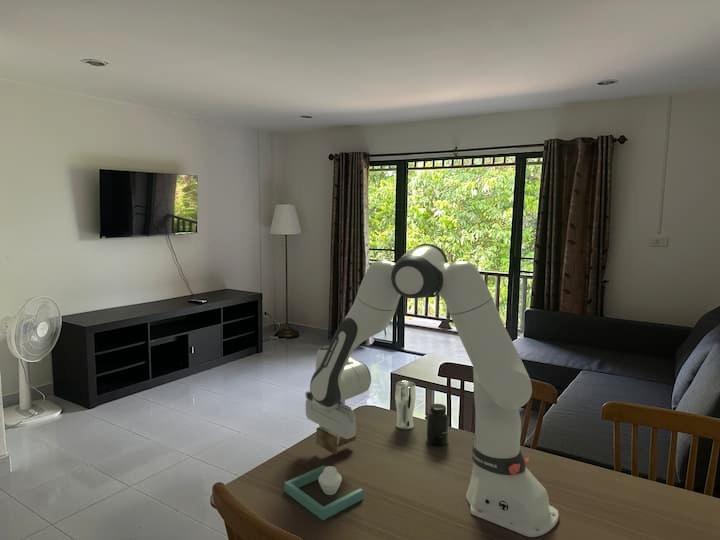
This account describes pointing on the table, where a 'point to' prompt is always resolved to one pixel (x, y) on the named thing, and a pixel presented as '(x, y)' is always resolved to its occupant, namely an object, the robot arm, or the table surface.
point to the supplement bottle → (437, 425)
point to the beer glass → (405, 404)
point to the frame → (312, 505)
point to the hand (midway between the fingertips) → (330, 441)
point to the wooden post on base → (331, 440)
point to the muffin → (330, 480)
